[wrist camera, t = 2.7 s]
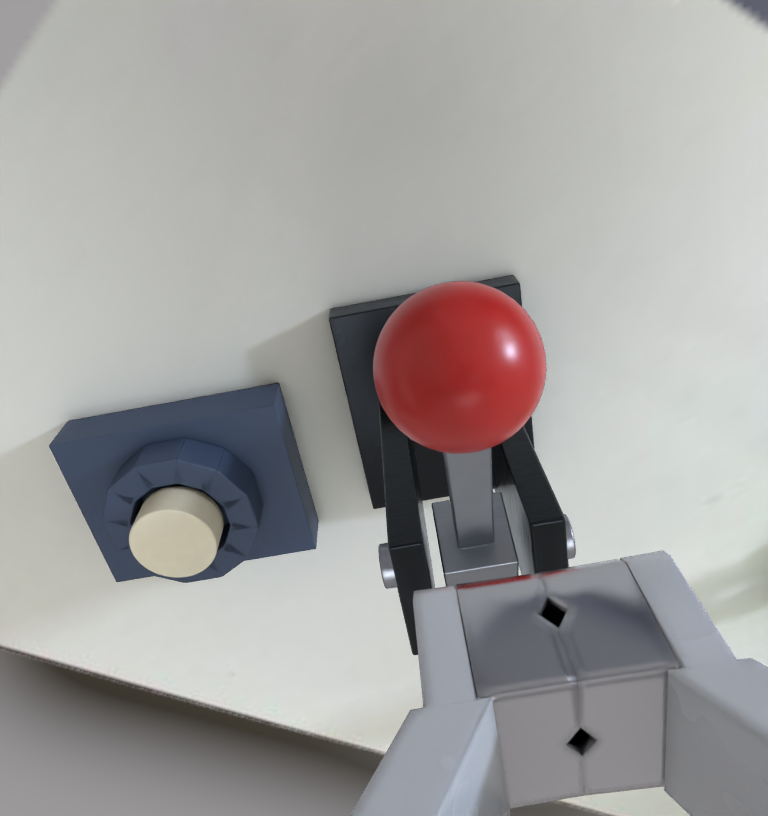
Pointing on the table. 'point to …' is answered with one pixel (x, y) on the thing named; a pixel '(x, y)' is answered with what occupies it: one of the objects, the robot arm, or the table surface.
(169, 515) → the button
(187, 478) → the button box
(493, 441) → the lever
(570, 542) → the bracket
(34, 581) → the table surface
